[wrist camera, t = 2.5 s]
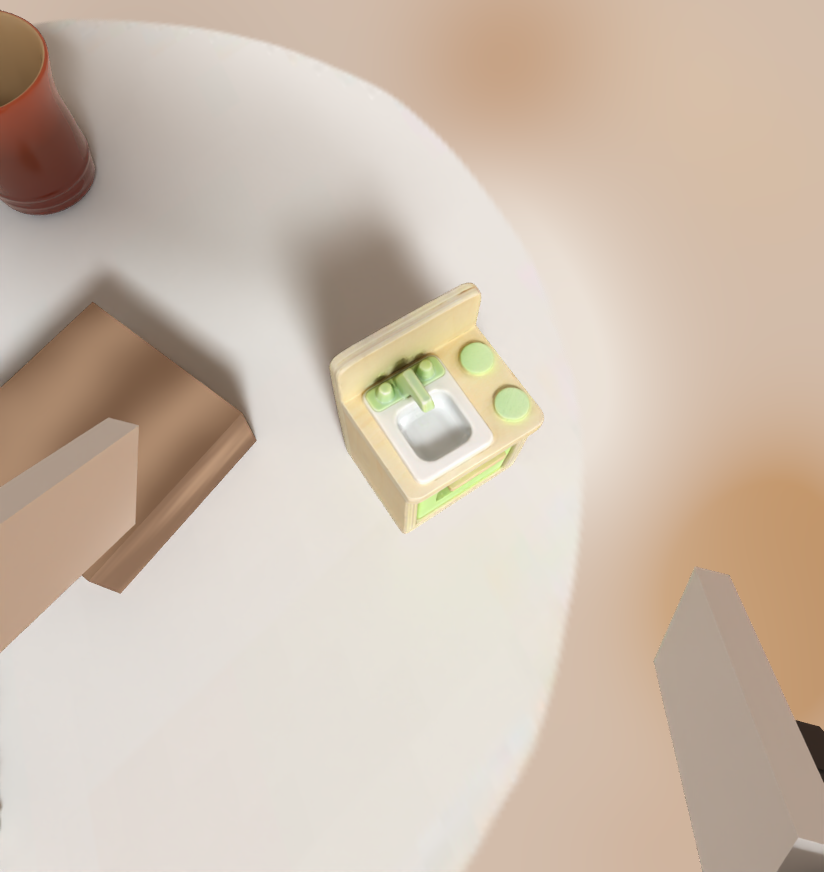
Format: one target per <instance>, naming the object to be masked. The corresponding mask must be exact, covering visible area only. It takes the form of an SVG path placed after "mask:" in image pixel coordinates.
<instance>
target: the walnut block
mask: <svg viewBox="0 0 824 872" xmlns="http://www.w3.org/2000/svg"><path fill="white" fill-rule="evenodd" d="M107 418H112V419H116V420H120V421H124V422H128V423H132V424H136V425H139V436H138V464H137V492H136V520H135V525H134V526H133V527H132V528H131V529H129V530H128V531H127V532H126V533H125V534H124V535H123V536H122V537H121V538H120V539H119V540H118V541H117V542H116V543H115V544H114V545H113V546H112V547H111V548H110V549H109V550H107V551H106V552H105V553H104V554H103V555H102V556H101V557H100V558H99V559H98V560H97V561H96V562H95V563H94V564H93V565H92V566H91V567H90V568H89V569H88V570H87V571H85V572H84V573H83V574H82V576H83V577H84V578H85V579H87V580H88V581H90V582H92V583H95V584H97V585H100V586H102V587H105V588H107V589H110V590H112V591H115V592H118V593H120V594H121V592H122V591H123V590H124V589H125V588H126V587H127V586H128V585H129V583H130V582H131V581H132V580H133V579H134V578H135V577H136V576H137V574H138V573H139V572H140V571H141V570H142V569H143V568H144V567H145V566H146V564H147V563H148V562H149V561H150V560H151V559H152V558H153V557H154V555H155V554H156V553H157V552H158V551H159V550H160V549H161V548H162V546H163V545H164V544H165V543H166V542H167V541H168V540H169V539H170V537H171V536H172V535H173V534H174V533H175V532H176V531H177V530H178V528H179V527H180V526H181V525H182V524H183V523H184V522H185V521H186V519H187V518H188V517H189V516H190V515H191V514H192V513H193V512H194V510H195V509H196V508H197V507H198V506H199V505H200V504H201V503H202V501H203V500H204V499H205V498H206V497H207V496H208V495H209V494H210V492H211V491H212V490H213V489H214V488H215V487H216V486H217V485H218V483H219V482H220V481H221V480H222V479H223V478H224V477H225V476H226V474H227V473H228V472H229V471H230V470H231V469H232V468H233V467H234V465H235V464H236V463H237V462H238V461H239V460H240V459H241V458H242V456H243V455H244V454H245V453H246V452H247V451H248V450H249V449H250V448H251V446H252V445H253V444H254V443H255V442H256V439H255V437H254V435H253V433H252V431H251V429H250V427H249V425H248V423H247V421H246V419H245V417H244V415H243V413H242V412H240V411H239V410H238V409H236V408H235V407H234V406H232V405H231V404H230V403H228V402H227V401H226V400H224V399H223V398H222V397H220V396H219V395H218V394H216V393H215V392H213V391H212V390H211V389H209V388H208V387H207V386H205V385H204V384H203V383H201V382H200V381H199V380H197V379H196V378H195V377H193V376H192V375H191V374H189V373H188V372H187V371H185V370H184V369H182V368H181V367H180V366H178V365H177V364H176V363H174V362H173V361H172V360H170V359H169V358H168V357H166V356H165V355H164V354H162V353H161V352H160V351H158V350H157V349H156V348H154V347H153V346H152V345H150V344H149V343H147V342H146V341H145V340H143V339H142V338H141V337H139V336H138V335H137V334H135V333H134V332H133V331H131V330H130V329H129V328H127V327H126V326H125V325H123V324H122V323H121V322H119V321H118V320H116V319H115V318H114V317H112V316H111V315H110V314H108V313H107V312H106V311H104V310H103V309H102V308H100V307H99V306H98V305H96V304H95V303H94V302H92V303H91V304H90V305H89V306H88V307H87V308H86V309H85V310H83V311H82V312H81V313H80V314H79V315H78V316H77V317H76V318H75V319H74V320H73V321H72V322H71V323H70V324H68V325H67V326H66V327H65V328H64V329H63V330H62V331H61V332H60V333H59V334H58V335H57V336H56V337H55V338H53V339H52V340H51V341H50V342H49V343H48V344H47V345H46V346H45V347H44V348H43V349H42V350H41V351H39V352H38V353H37V354H36V355H35V356H34V357H33V358H32V359H31V360H30V361H29V362H28V363H27V364H26V365H24V366H23V367H22V368H21V369H20V370H19V371H18V372H17V373H16V374H15V375H14V376H13V377H12V378H11V379H9V380H8V381H7V382H6V383H5V384H4V385H3V386H2V387H1V388H0V487H1V486H3V485H4V484H6V483H7V482H9V481H10V480H12V479H14V478H15V477H17V476H18V475H20V474H21V473H23V472H24V471H26V470H28V469H29V468H31V467H32V466H34V465H35V464H37V463H38V462H40V461H42V460H43V459H45V458H46V457H48V456H49V455H51V454H52V453H54V452H56V451H57V450H59V449H60V448H62V447H63V446H65V445H66V444H68V443H70V442H71V441H73V440H74V439H76V438H77V437H79V436H80V435H82V434H84V433H85V432H87V431H88V430H90V429H91V428H93V427H94V426H96V425H98V424H99V423H101V422H102V421H104V420H105V419H107Z"/></svg>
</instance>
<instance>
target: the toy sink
mask: <svg viewBox="0 0 824 872" xmlns="http://www.w3.org/2000/svg"><path fill="white" fill-rule="evenodd" d="M480 302H481V293H480V291H479V290H478V288H477V287H476V286H475V285H474V284H473V283H465V284H461V285H459V286H458V287H456V288H454V289H452V290H450V291H448V292H447V293H445V294H443V295H441V296H439V297H438V298H436V299H434V300H432V301H430V302H429V303H427V304H425V305H423V306H421V307H420V308H418V309H416V310H414V311H412V312H410V313H409V314H407V315H405V316H403V317H401V318H399V319H398V320H396V321H394V322H392V323H391V324H389V325H387V326H385V327H383V328H382V329H380V330H378V331H376V332H374V333H373V334H371V335H369V336H367V337H366V338H364V339H362V340H360V341H359V342H357V343H355V344H353V345H352V346H350V347H348V348H347V349H345V350H344V351H342V352H341V353H339V354H338V355H336V356H335V357H334V358H333V359H332V361H331V363H330V366H329V370H330V375H331V380H332V385H333V390H334V395H335V400H336V405H337V410H338V415H339V419H340V423H341V428H342V432H343V437H344V441H345V445H346V449H347V451H348V453H349V455H350V456H351V458H352V459H353V461H354V462H355V463H356V465H357V466H358V468H359V469H360V471H361V472H362V474H363V475H364V477H365V478H366V480H367V482H368V483H369V485H370V486H371V488H372V489H373V491H374V492H375V494H376V495H377V497H378V498H379V499H380V501H381V502H382V504H383V505H384V507H385V508H386V510H387V511H388V513H389V514H390V516H391V517H392V519H393V520H394V522H395V523H396V525H397V526H398V528H399V529H400V530H401V532H402V533H404V534H406V533H409V532H410V531H412V530H414V529H415V528H417V527H418V526H420V525H421V524H423V523H424V522H426V521H428V520H429V519H431V518H432V517H434V516H435V515H437V514H438V513H440V512H441V511H443V510H444V509H446V508H448V507H449V506H451V505H452V504H454V503H455V502H457V501H458V500H460V499H461V498H463V497H464V496H466V495H468V494H469V493H471V492H472V491H474V490H475V489H477V488H478V487H480V486H481V485H483V484H485V483H486V482H488V481H489V480H491V479H492V478H494V477H495V476H497V475H498V474H500V473H501V472H503V471H505V470H506V469H507V468H509V467H510V466H511V465H513V463H514V462H515V460H516V458H517V456H518V454H519V453H520V451H521V449H522V447H523V445H524V443H525V441H526V439H527V437H528V436H529V435H531V434H532V433H534V432H536V431H537V430H538V429H539V428H540V426H541V425H542V423H543V421H544V415H543V412H542V410H541V409H540V408H539V406H538V405H537V404H536V403H535V401H534V400H533V399H532V397H531V396H530V395H529V393H528V392H527V391H526V389H525V388H524V387H523V386H522V384H521V383H520V382H519V380H518V379H517V378H516V377H515V375H514V374H513V373H512V371H511V370H510V369H509V368H508V366H507V365H506V364H505V362H504V361H503V360H502V359H501V357H500V356H499V355H498V353H497V352H496V351H495V349H494V348H493V347H492V346H491V344H490V343H489V342H488V341H487V339H486V338H485V337H484V335H483V334H482V333H481V331H480V330H479V329H478V327H477V326H476V320H477V316H478V311H479V307H480Z"/></svg>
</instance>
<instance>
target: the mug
mask: <svg viewBox="0 0 824 872" xmlns="http://www.w3.org/2000/svg"><path fill="white" fill-rule="evenodd" d="M94 175H95V167H94V162H93V159H92V156H91V153H90V150H89V145H88V142H87V140H86V137H85V136H84V134H83V133H82V132H81V130H80V128H79V126H78V124H77V123H76V121H75V119H74V117H73V116H72V114H71V112H70V111H69V109H68V107H67V106H66V104H65V102H64V101H63V99H62V98H61V96H60V94H59V92H58V90H57V88H56V86H55V83H54V80H53V75H52V71H51V65H50V59H49V53H48V48H47V45H46V42H45V40H44V38H43V36H42V35H41V33H40V32H39V31H38V30H37V29H36V28H35V27H34V26H33V25H32V24H31V23H29V22H28V21H26V20H25V19H23V18H21V17H19V16H16V15H14V14H11V13H8V12H4V11H1V10H0V200H2V201H3V202H5V203H6V204H7V205H8V206H9V207H11V208H12V209H14V210H16V211H19V212H22V213H25V214H30V215H48V214H53V213H57V212H60V211H63V210H65V209H67V208H69V207H71V206H73V205H74V204H76V203H77V202H78V201H80V200H81V199H82V198H83V197H84V196H85V194H86V193H87V192H88V190H89V189H90V187H91V185H92V183H93V180H94Z"/></svg>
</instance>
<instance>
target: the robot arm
mask: <svg viewBox="0 0 824 872" xmlns="http://www.w3.org/2000/svg"><path fill="white" fill-rule="evenodd" d="M138 436H139V425H136V424H132V423H128V422H124V421H120V420H116V419H112V418H107V419H105V420H104V421H102V422H101V423H99V424H98V425H96V426H94V427H93V428H91V429H90V430H88V431H87V432H85V433H84V434H82V435H80V436H79V437H77V438H76V439H74V440H73V441H71V442H70V443H68V444H66V445H65V446H63V447H62V448H60V449H59V450H57V451H56V452H54V453H52V454H51V455H49V456H48V457H46V458H45V459H43V460H42V461H40V462H38V463H37V464H35V465H34V466H32V467H31V468H29V469H28V470H26V471H24V472H23V473H21V474H20V475H18V476H17V477H15V478H14V479H12V480H10V481H9V482H7V483H6V484H4V485H3V486H1V487H0V653H1V652H2V651H3V650H4V649H5V648H6V647H7V646H8V645H9V644H10V643H11V642H12V641H13V640H14V639H15V638H16V637H17V636H18V635H19V634H20V633H22V632H23V631H24V630H25V629H26V628H27V627H28V626H29V625H30V624H31V623H32V622H33V621H34V620H35V619H36V618H37V617H38V616H39V615H40V614H41V613H43V612H44V611H45V610H46V609H47V608H48V607H49V606H50V605H51V604H52V603H53V602H54V601H55V600H56V599H57V598H58V597H59V596H60V595H61V594H62V593H63V592H65V591H66V590H67V589H68V588H69V587H70V586H71V585H72V584H73V583H74V582H75V581H76V580H77V579H78V578H79V577H80V576H81V575H82V574H83V573H84V572H85V571H87V570H88V569H89V568H90V567H91V566H92V565H93V564H94V563H95V562H96V561H97V560H98V559H99V558H100V557H101V556H102V555H103V554H104V553H105V552H106V551H107V550H109V549H110V548H111V547H112V546H113V545H114V544H115V543H116V542H117V541H118V540H119V539H120V538H121V537H122V536H123V535H124V534H125V533H126V532H127V531H128V530H129V529H131V528H132V527H133V526H134V525H135V520H136V492H137V464H138ZM654 665H655V669H656V673H657V678H658V682H659V687H660V691H661V695H662V699H663V704H664V708H665V713H666V717H667V721H668V725H669V729H670V734H671V738H672V743H673V747H674V751H675V756H676V760H677V764H678V768H679V773H680V777H681V781H682V785H683V790H684V794H685V799H686V803H687V807H688V811H689V816H690V820H691V824H692V829H693V833H694V838H695V841H696V846H697V850H698V855H699V859H700V863H701V868H702V872H824V731H823V730H822V729H821V728H820V727H819V726H815V725H811V724H808V723H804V722H800V721H797V720H795V719H794V716H793V714H792V712H791V710H790V708H789V705H788V703H787V701H786V699H785V697H784V694H783V692H782V690H781V688H780V686H779V683H778V681H777V679H776V677H775V675H774V672H773V670H772V668H771V666H770V664H769V661H768V659H767V657H766V655H765V653H764V651H763V648H762V646H761V644H760V641H759V639H758V637H757V635H756V633H755V630H754V628H753V626H752V624H751V622H750V619H749V617H748V615H747V613H746V611H745V608H744V606H743V604H742V602H741V600H740V597H739V595H738V593H737V591H736V589H735V587H734V584H733V582H732V580H731V578H730V576H729V575H727V574H722V573H719V572H715V571H711V570H707V569H703V568H699V567H695V568H694V570H693V572H692V574H691V577H690V579H689V581H688V584H687V586H686V588H685V590H684V592H683V595H682V597H681V599H680V602H679V604H678V606H677V609H676V611H675V613H674V616H673V618H672V620H671V622H670V624H669V627H668V629H667V631H666V634H665V636H664V638H663V640H662V643H661V645H660V647H659V650H658V652H657V654H656V657H655V659H654Z"/></svg>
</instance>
